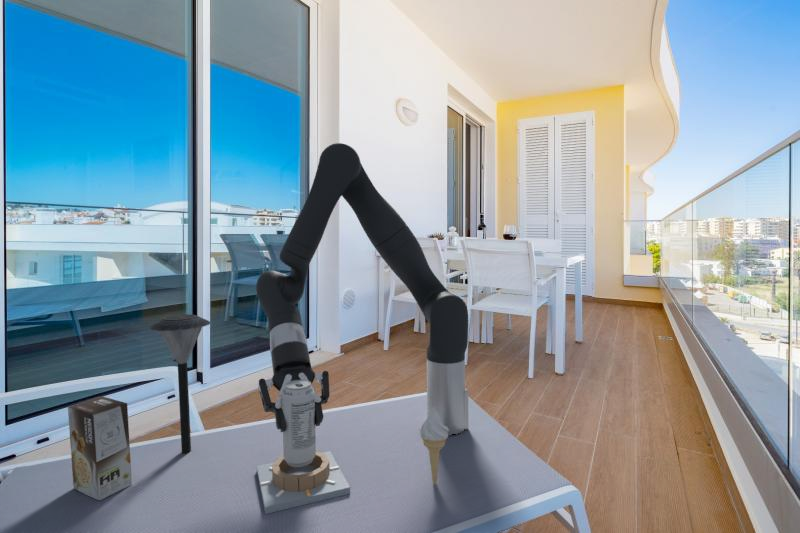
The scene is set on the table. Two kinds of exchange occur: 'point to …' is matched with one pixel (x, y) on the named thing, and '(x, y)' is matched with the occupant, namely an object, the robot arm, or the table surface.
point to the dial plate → (300, 482)
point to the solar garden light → (181, 359)
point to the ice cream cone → (434, 439)
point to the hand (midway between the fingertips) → (301, 426)
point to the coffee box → (100, 446)
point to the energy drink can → (299, 423)
